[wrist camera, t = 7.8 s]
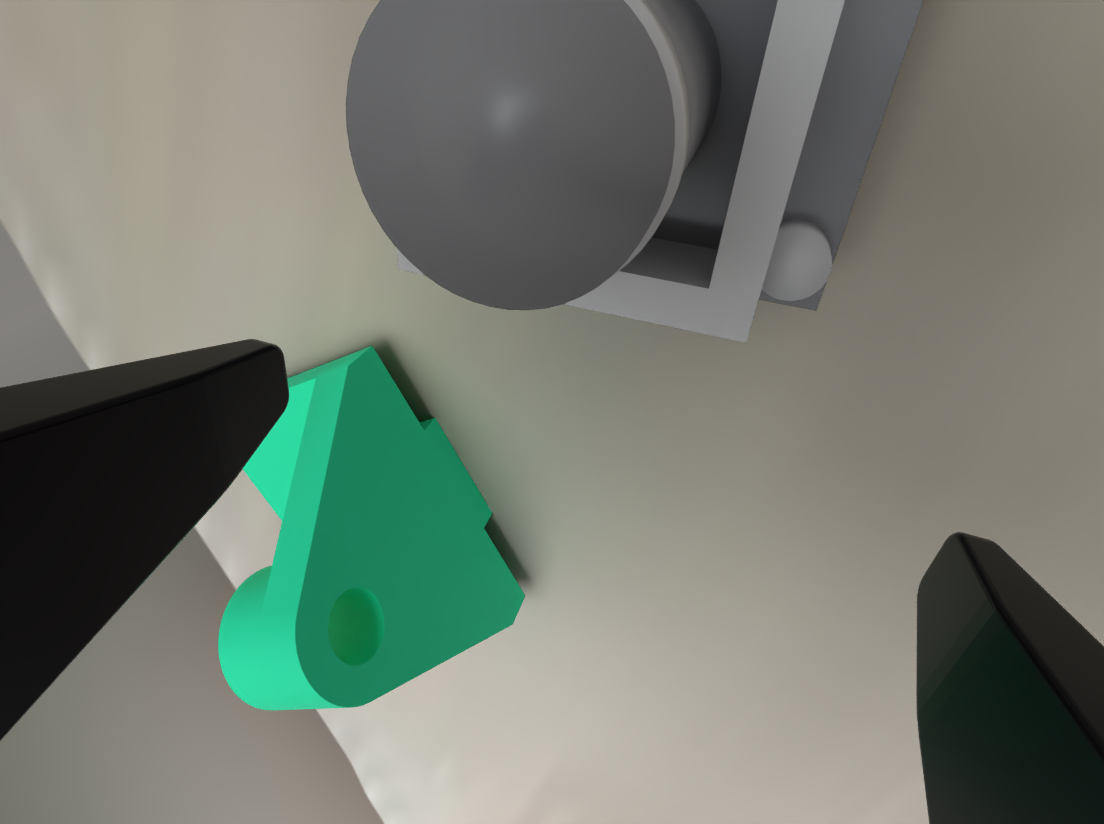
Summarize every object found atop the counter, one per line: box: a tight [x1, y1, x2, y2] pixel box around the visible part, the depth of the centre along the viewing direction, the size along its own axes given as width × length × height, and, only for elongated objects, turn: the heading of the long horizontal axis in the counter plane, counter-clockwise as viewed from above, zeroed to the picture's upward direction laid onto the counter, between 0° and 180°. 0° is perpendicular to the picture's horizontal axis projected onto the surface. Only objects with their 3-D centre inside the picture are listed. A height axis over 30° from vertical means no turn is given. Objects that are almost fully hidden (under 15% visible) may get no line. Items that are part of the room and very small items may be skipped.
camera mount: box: [218, 346, 525, 710], centre depth 23 cm, size 12×8×10 cm, turn 27°
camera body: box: [397, 0, 923, 343], centre depth 14 cm, size 11×8×6 cm
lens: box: [346, 0, 721, 310], centre depth 11 cm, size 5×5×7 cm
